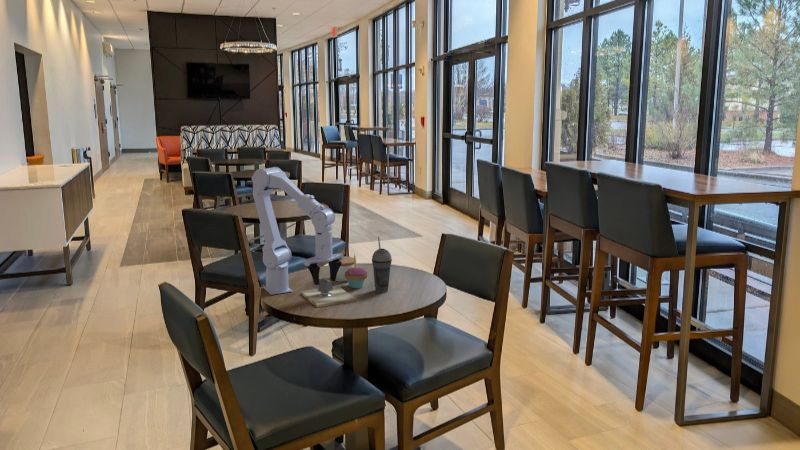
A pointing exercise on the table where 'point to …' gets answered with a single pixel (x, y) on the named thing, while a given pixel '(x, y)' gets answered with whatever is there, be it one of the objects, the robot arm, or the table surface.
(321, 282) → the cap
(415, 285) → the table surface
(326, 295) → the stud
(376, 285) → the beverage cup
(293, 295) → the table surface
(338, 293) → the board
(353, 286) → the cupcake
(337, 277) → the lidded jar
